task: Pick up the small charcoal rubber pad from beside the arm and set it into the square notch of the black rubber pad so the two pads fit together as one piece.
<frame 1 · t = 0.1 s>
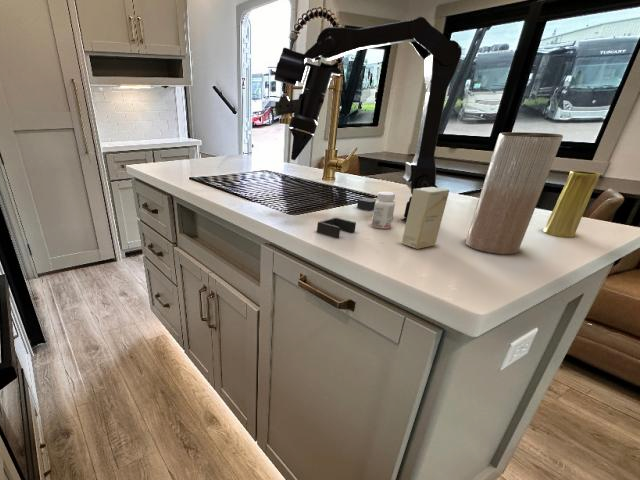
hand: (294, 157, 95), 15 cm above the worktop, tool pointing down, fingers open, 9 cm apart
cosmetic box: (417, 245, 81), on the worktop
planter: (490, 247, 79), on the worktop
loose pad: (367, 208, 109), on the worktop
pill bottle: (380, 227, 93), on the worktop
base pad: (336, 232, 88), on the worktop
vase: (558, 234, 87), on the worktop
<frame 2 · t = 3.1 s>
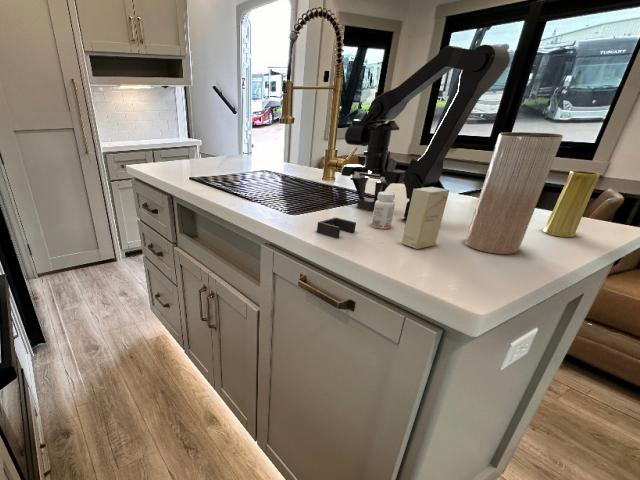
hand: (368, 203, 109), 2 cm above the worktop, tool pointing down, fingers closed on loose pad, 4 cm apart
loose pad: (367, 208, 109), on the worktop, touching gripper
everything else where it was.
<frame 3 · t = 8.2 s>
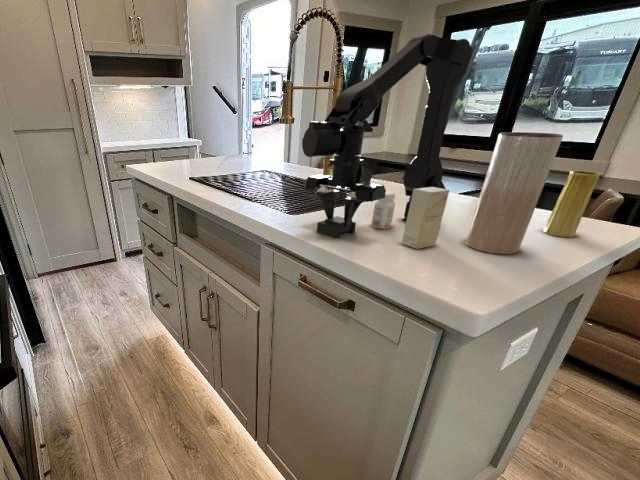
hand: (338, 223, 87), 2 cm above the worktop, tool pointing down, fingers closed on loose pad, 4 cm apart
loose pad: (337, 229, 88), point 1 cm above the worktop, touching gripper
everything else where it was.
when the fingers open (3 cm above the worktop, at t = 12.0 s): loose pad drops 1 cm, on the worktop.
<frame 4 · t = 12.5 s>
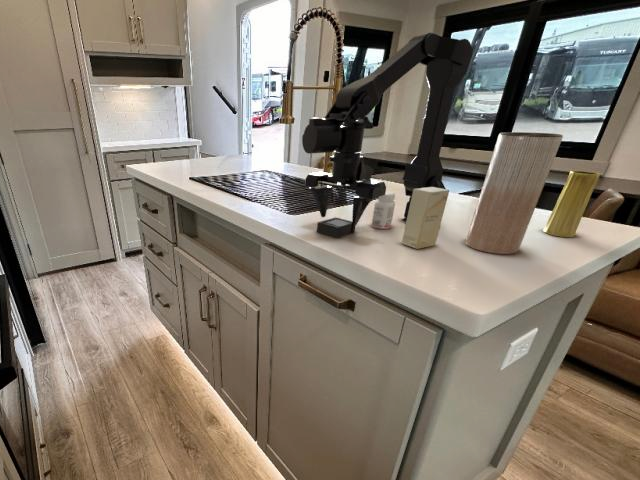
hand: (338, 220, 87), 3 cm above the worktop, tool pointing down, fingers open, 9 cm apart
loose pad: (337, 232, 88), on the worktop
everything else where it was.
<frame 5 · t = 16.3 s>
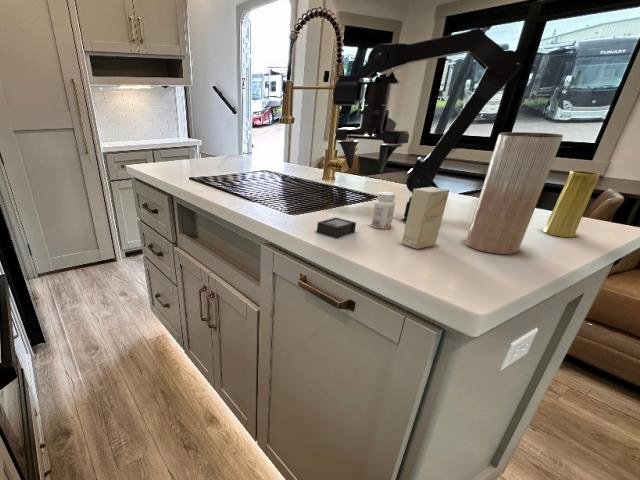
hand: (364, 170, 98), 12 cm above the worktop, tool pointing down, fingers open, 9 cm apart
nothing on the worktop moved.
at the end: loose pad 0.1 cm off-centre on the base pad, point 0.0 cm above the base pad's base; loose pad tilted 0°; the gripper is holding nothing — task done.
